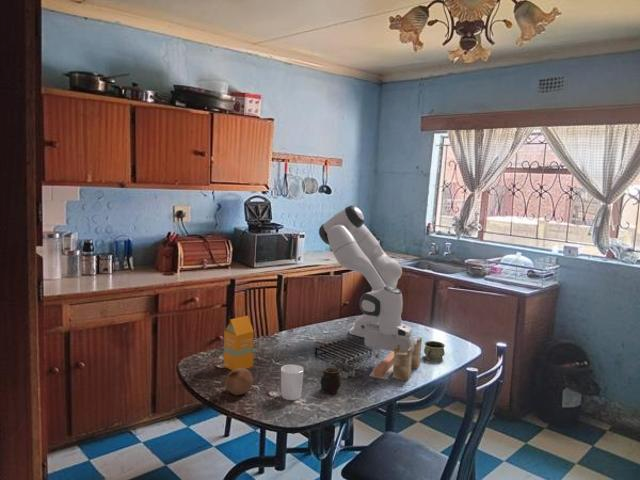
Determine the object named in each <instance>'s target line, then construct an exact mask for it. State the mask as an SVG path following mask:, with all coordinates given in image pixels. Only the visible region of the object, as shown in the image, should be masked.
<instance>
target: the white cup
mask: <svg viewBox="0 0 640 480" xmlns="http://www.w3.org/2000/svg"><path fill="white" fill-rule="evenodd" d="M303 379H304V367H303V366H301V365H298V364H285V365H283V366H281V368H280V389H281V398H282V399H284V400H287V401H297V400H299V399H301V397H302V390H303V381H304V380H303Z"/></svg>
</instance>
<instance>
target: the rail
mask: <svg viewBox="0 0 640 480" xmlns="http://www.w3.org/2000/svg"><path fill="white" fill-rule="evenodd" d="M393 364H394V351H391V352H390V353H389V354H387V355H386V357H384V359H382V360H381V361H380V363H378V364H377V365H376V366H375V367H374V370H373V371H374V376H377V377H382V376H383V375H384V374H385V373H386V372H387V371H388V370H389V369H390V368H391V367H392V366H393ZM377 377H376V378H377Z"/></svg>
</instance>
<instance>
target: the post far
mask: <svg viewBox="0 0 640 480" xmlns="http://www.w3.org/2000/svg"><path fill="white" fill-rule="evenodd" d="M422 339H423V337H418V338H417V339H416V340H414V351H413V353H412V364H411V369H416V370H417V369H419V367H421V355H422V352H421V351H422Z"/></svg>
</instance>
